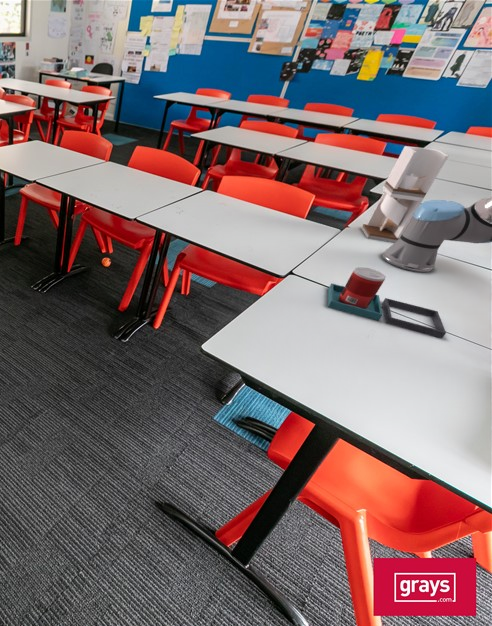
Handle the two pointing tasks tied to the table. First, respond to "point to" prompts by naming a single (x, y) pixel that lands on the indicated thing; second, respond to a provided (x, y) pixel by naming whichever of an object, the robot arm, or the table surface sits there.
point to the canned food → (361, 287)
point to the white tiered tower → (404, 192)
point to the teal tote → (370, 312)
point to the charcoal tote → (415, 327)
